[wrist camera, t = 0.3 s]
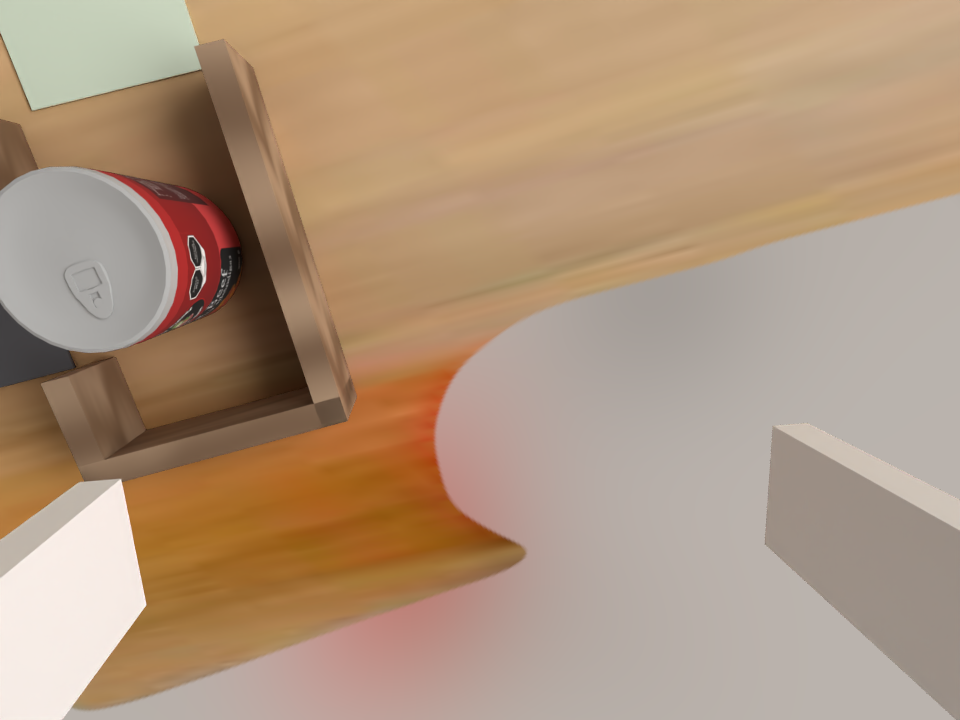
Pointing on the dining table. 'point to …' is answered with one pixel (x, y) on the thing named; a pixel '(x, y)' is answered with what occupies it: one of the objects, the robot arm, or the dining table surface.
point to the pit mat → (27, 354)
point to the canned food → (111, 257)
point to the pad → (95, 45)
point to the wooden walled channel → (330, 393)
